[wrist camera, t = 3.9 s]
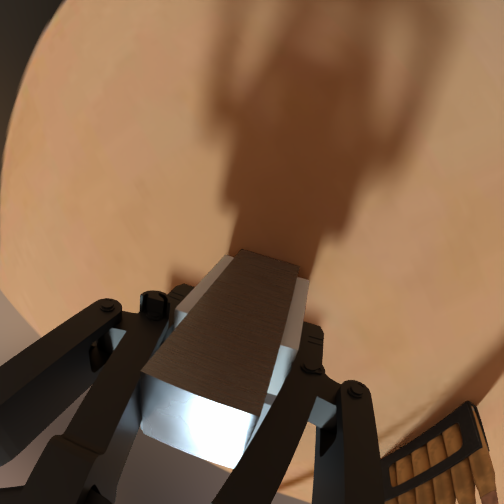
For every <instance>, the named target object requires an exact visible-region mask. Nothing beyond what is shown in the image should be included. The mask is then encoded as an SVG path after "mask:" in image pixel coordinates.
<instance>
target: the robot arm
mask: <svg viewBox="0 0 504 504" xmlns="http://www.w3.org/2000/svg"><path fill="white" fill-rule="evenodd" d="M233 259H234V257H231V256H228V255H225V256H224V257H223V258H222V259H221V260H220V261H219V262H218V263H217V264H216V265H215V266H214V267H213V268H212V269H211V271H210V272H209V273H208V274H207V275H206V276H205V277H204V278H203V279H202V280H201V281H200V282H199V283H198V284H197V286H196V287H192V286H189V285H187V284H181V285H179V286H176V287H175V288H174V289H173V290H172V291H171V292H170V293H169V294H168V295H167V294H166V293H163V292H160V291H146V292H144V293H142V294H141V295H140V312H139V313H130V312H125V311H122V305H121V304H120V303H119V302H118V301H117V300H114V299H109V298H105V299H100V300H98V301H96V302H94V303H93V304H91V305H90V306H88V307H87V308H85V309H83V310H82V311H80V312H79V313H77V314H76V315H74V316H73V317H71V318H70V319H68V320H67V321H65V322H64V323H62V324H61V325H59V326H58V327H56V328H55V329H53V330H52V331H50V332H49V333H47V334H46V335H45V336H43V337H42V338H40V339H39V340H37V341H36V342H34V343H33V344H31V345H30V346H29V347H27V348H26V349H24V350H23V351H21V352H20V353H19V354H17V355H16V356H14V357H13V358H11V359H10V360H9V361H7V362H6V363H4V364H3V365H2V366H0V466H3V465H4V464H6V463H7V462H9V461H11V460H12V459H13V458H14V457H16V456H17V455H18V454H19V453H20V452H21V451H22V450H24V449H25V448H26V447H27V446H28V445H29V444H30V443H31V442H32V441H33V440H34V439H35V438H36V437H37V436H38V435H39V434H40V433H41V432H42V431H43V430H44V429H46V427H47V426H49V425H50V424H51V423H52V422H53V421H54V420H55V419H56V418H57V417H58V416H59V415H60V414H61V413H62V412H63V411H65V410H66V408H68V407H69V406H70V405H71V404H72V403H73V402H74V401H75V400H76V399H77V398H78V397H79V396H80V395H81V394H83V393H84V392H85V391H86V390H87V389H88V388H89V387H90V386H91V385H92V384H93V385H92V386H91V388H90V390H89V391H88V393H87V395H86V396H85V398H84V400H83V401H82V403H81V405H80V406H79V408H78V410H77V412H76V413H75V415H74V417H73V418H72V420H71V422H70V424H69V425H68V427H67V429H66V431H65V432H64V434H62V435H55V436H53V437H52V438H51V439H50V441H49V442H48V443H47V445H46V447H45V449H44V451H43V452H42V454H41V456H40V458H39V460H38V461H37V463H36V465H35V467H34V469H33V471H32V472H31V474H30V476H29V478H28V480H27V482H26V484H25V485H24V486H17V487H9V488H0V504H114V503H115V498H116V490H117V485H118V482H119V479H120V476H121V474H122V471H123V468H124V465H125V463H126V460H127V457H128V455H129V452H130V450H131V447H132V445H133V442H134V439H135V437H136V434H137V432H138V429H139V427H140V424H141V422H142V404H141V376H140V371H141V370H142V368H143V367H144V366H145V365H146V363H147V362H148V361H149V360H150V359H151V357H152V356H153V355H154V354H155V352H156V351H157V350H158V349H159V348H160V346H161V345H162V344H163V343H164V342H165V340H166V339H167V338H168V337H169V335H170V334H171V333H172V332H173V331H174V329H175V328H176V327H177V326H178V325H179V323H180V322H181V321H182V320H183V319H184V317H185V316H186V315H187V314H188V313H189V311H190V310H191V309H192V308H193V306H194V305H195V304H196V303H197V302H198V300H199V299H200V298H201V297H202V296H203V294H204V293H205V292H206V291H207V290H208V288H209V287H210V286H211V285H212V284H213V282H214V281H215V280H216V279H217V278H218V276H219V275H220V274H221V273H222V272H223V270H224V269H225V268H226V267H227V266H228V265H229V263H230V262H231V261H232V260H233ZM308 287H309V280H307V279H303V278H300V277H297V280H296V284H295V289H294V293H293V297H292V301H291V305H290V309H289V313H288V317H287V321H286V325H285V329H284V333H283V337H282V340H281V344H280V348H279V352H278V355H277V359H276V363H275V366H274V370H273V374H272V377H271V381H270V384H269V388H268V391H267V393H270V394H273V395H277V396H276V398H275V400H274V402H273V404H272V405H271V407H270V409H269V411H268V413H267V414H266V416H265V418H264V420H263V421H262V423H261V425H260V427H259V428H258V430H257V432H256V433H255V435H254V437H253V439H252V440H251V442H250V444H249V445H248V447H247V449H246V450H245V452H244V453H243V455H242V457H241V458H240V460H239V462H238V463H237V465H236V466H235V468H234V469H233V471H232V473H231V474H230V476H229V477H228V479H227V480H226V482H225V483H224V485H223V486H222V488H221V489H220V491H219V493H218V494H217V495H216V497H215V498H214V500H213V501H212V502H211V503H210V504H271V502H272V500H273V498H274V496H275V494H276V492H277V490H278V488H279V486H280V484H281V482H282V479H283V477H284V475H285V473H286V471H287V469H288V466H289V464H290V462H291V460H292V458H293V455H294V453H295V451H296V448H297V446H298V444H299V441H300V439H301V436H302V434H303V432H304V429H305V427H306V424H307V422H310V423H312V424H314V425H316V444H315V464H314V481H313V494H312V504H385V501H384V489H383V478H382V469H381V460H380V452H379V444H378V436H377V429H376V423H375V416H374V410H373V404H372V398H371V393H370V391H369V389H368V388H367V387H366V386H365V385H364V384H362V383H361V382H358V381H355V380H348V381H344V382H343V383H342V384H339V383H337V382H335V381H333V380H332V379H330V378H329V377H328V376H327V375H326V374H325V369H324V367H323V365H322V357H323V340H324V333H323V331H322V329H321V327H320V326H317V325H314V324H310V323H307V322H303V320H304V313H305V307H306V300H307V294H308Z"/></svg>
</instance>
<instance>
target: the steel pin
mask: <svg viewBox="0 0 504 504" xmlns="http://www.w3.org/2000/svg"><path fill="white" fill-rule="evenodd" d="M299 267H300V266H296V265H293V264H290V263H286V262H283V261H280V260H276V259H273V258H270V257H266V256H263V255H260V254H257V253H253V252H250V251H247V250H243V249H241V250H240V251H239V253H238V254H237V255H236V256H235V257H234V259H233V260H232V261H231V262H230V263H229V265H228V266H227V267H226V268H225V269H224V270H223V272H222V273H221V274H220V275H219V276H218V278H217V279H216V280H215V281H214V282H213V284H212V285H211V286H210V287H209V288H208V290H207V291H206V292H205V293H204V294H203V296H202V297H201V298H200V299H199V300H198V302H197V303H196V304H195V305H194V306H193V308H192V309H191V310H190V311H189V313H188V314H187V315H186V316H185V317H184V319H183V320H182V321H181V322H180V323H179V325H178V326H177V327H176V328H175V329H174V331H173V332H172V333H171V334H170V335H169V337H168V338H167V339H166V340H165V342H164V343H163V344H162V345H161V346H160V348H159V349H158V350H157V351H156V352H155V354H154V355H153V356H152V357H151V359H150V360H149V361H148V362H147V363H146V365H145V366H144V367H143V368H142V370H141V371H140V376H141V404H142V422H143V433H144V434H146V435H148V436H150V437H152V438H154V439H156V440H159V441H161V442H163V443H165V444H168V445H170V446H173V447H175V448H177V449H179V450H182V451H185V452H187V453H189V454H192V455H195V456H197V457H200V458H203V459H205V460H208V461H211V462H214V463H217V464H220V465H223V466H226V467H229V468H232V469H234V468H235V466H236V465H237V463H238V462H239V460H240V458H241V457H242V455H243V453H244V451H245V449H246V447H247V445H248V442H249V440H250V438H251V436H252V434H253V431H254V429H255V427H256V425H257V423H258V420H259V418H260V415H261V412H262V409H263V405H264V402H265V398H266V395H267V391H268V388H269V384H270V381H271V377H272V374H273V370H274V366H275V363H276V359H277V355H278V352H279V348H280V344H281V340H282V337H283V333H284V329H285V325H286V321H287V317H288V313H289V309H290V305H291V301H292V297H293V293H294V289H295V284H296V280H297V276H298V272H299Z"/></svg>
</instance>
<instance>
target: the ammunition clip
mask: <svg viewBox="0 0 504 504" xmlns="http://www.w3.org/2000/svg"><path fill="white" fill-rule="evenodd" d="M381 469H382V478H383V489H384V501H385V504H455V502H456V498H457V501H458V503H459V504H476V499H475V485H476V487H477V489H478V491H479V495H480V499H481V502H482V504H498V497H497V492H496V491H497V490H496V485H495V472H494V469H493V465H492V461H491V458H490V455H489V447H488V443H487V440H486V436H485V432H484V429H483V425H482V422H481V419H480V415H479V412H478V409H477V407H476V406H475V405H473V404H472V403H471V402H469V401H466V402H465V403H464V404H462V405H461V406H460V407H459V408H457V409H456V410H455V411H454V412H452V413H451V414H450V415H448V416H447V417H446V418H444V419H443V420H442V421H440V422H439V423H438V424H436V425H435V426H433V427H432V428H430V429H429V430H428V431H426V432H425V433H423V434H422V435H420V436H419V437H417V438H416V439H414V440H413V441H411V442H409V443H408V444H406V445H405V446H403V447H401V448H400V449H398V450H396V451H395V452H393V453H391V454H390V455H388V456H386V457H384V458H383V459H381ZM472 473H473V474H472ZM474 482H475V483H474Z"/></svg>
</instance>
